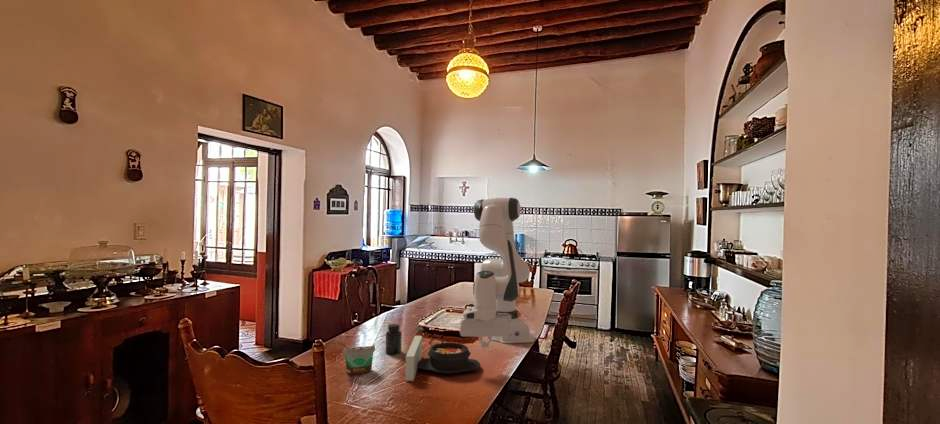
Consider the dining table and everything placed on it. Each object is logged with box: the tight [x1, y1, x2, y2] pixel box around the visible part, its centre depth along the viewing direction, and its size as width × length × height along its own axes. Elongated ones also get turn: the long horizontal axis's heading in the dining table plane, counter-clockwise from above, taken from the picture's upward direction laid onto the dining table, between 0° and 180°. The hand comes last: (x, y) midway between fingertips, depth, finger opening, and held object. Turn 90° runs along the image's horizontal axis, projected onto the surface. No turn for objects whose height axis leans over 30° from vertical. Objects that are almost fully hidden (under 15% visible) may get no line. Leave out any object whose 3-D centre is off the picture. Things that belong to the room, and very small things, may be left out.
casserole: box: [418, 342, 481, 375], centre depth 174 cm, size 25×19×8 cm
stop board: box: [404, 335, 423, 382], centre depth 175 cm, size 3×26×9 cm, turn 0°
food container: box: [342, 343, 376, 377], centre depth 168 cm, size 12×6×10 cm, turn 117°
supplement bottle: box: [385, 323, 403, 356], centre depth 193 cm, size 7×7×12 cm
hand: (485, 346), depth 175 cm, fingers closed
